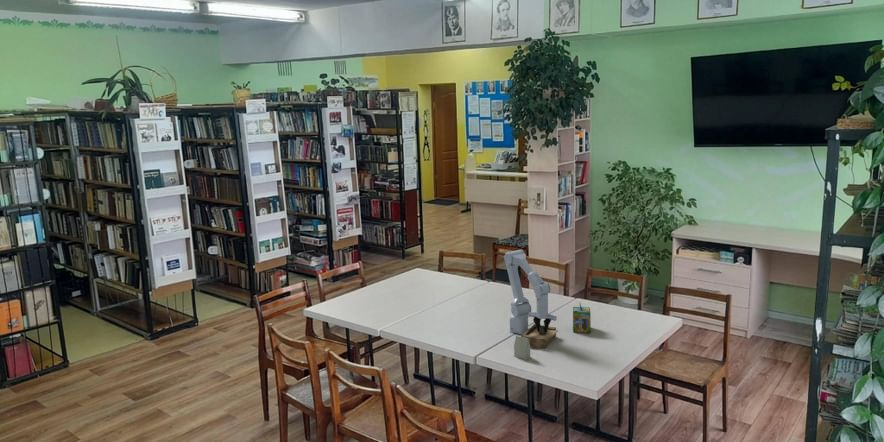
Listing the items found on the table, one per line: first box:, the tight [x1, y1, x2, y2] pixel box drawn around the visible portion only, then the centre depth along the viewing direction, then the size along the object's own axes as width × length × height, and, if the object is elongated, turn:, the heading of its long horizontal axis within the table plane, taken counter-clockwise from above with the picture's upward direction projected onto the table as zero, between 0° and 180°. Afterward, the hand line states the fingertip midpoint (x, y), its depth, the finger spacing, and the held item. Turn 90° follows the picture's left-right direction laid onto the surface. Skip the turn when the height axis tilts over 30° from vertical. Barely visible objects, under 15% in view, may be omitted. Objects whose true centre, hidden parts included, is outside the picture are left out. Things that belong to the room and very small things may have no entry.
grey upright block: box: [513, 335, 531, 361], centre depth 294 cm, size 4×7×10 cm, turn 51°
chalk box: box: [572, 302, 592, 334], centre depth 325 cm, size 9×9×15 cm
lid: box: [529, 325, 559, 342], centre depth 312 cm, size 11×15×4 cm
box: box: [520, 323, 557, 350], centre depth 313 cm, size 12×18×5 cm, turn 150°
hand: (542, 331), depth 312 cm, fingers closed on lid, 3 cm apart
